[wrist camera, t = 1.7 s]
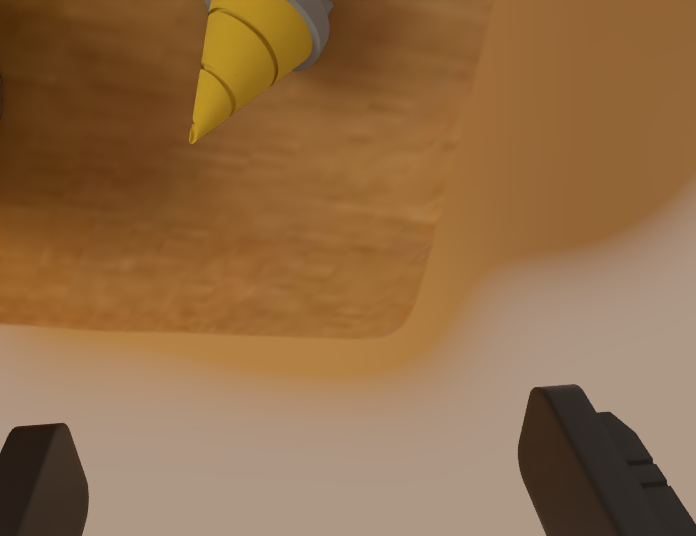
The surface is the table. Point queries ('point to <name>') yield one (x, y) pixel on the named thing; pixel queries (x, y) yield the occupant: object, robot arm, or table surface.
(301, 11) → the spiral grooved cone
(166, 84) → the table surface
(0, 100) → the pen pot
